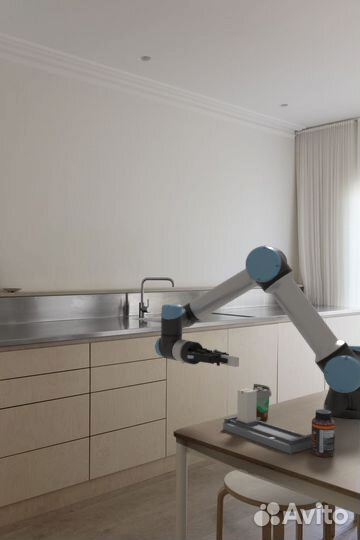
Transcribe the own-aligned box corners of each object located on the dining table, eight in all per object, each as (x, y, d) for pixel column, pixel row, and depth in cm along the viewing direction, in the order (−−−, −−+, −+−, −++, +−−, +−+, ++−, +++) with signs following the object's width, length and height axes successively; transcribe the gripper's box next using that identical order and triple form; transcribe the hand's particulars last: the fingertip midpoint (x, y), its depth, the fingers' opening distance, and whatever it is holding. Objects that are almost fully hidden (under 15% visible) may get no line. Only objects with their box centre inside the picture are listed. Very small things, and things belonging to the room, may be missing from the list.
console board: (246, 423, 165) (246, 413, 165) (314, 446, 144) (314, 434, 144) (222, 429, 159) (223, 418, 159) (290, 453, 138) (290, 441, 138)
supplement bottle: (308, 450, 141) (308, 408, 141) (329, 449, 142) (330, 407, 142) (315, 458, 135) (315, 414, 135) (338, 457, 136) (338, 414, 136)
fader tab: (246, 420, 161) (247, 387, 161) (258, 424, 157) (259, 390, 157) (234, 422, 158) (235, 389, 158) (246, 427, 154) (247, 392, 154)
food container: (270, 425, 164) (271, 392, 164) (250, 423, 165) (251, 391, 165) (271, 414, 176) (272, 384, 176) (253, 413, 177) (253, 383, 177)
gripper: (202, 361, 184) (251, 372, 165) (173, 364, 176) (221, 376, 157) (203, 339, 184) (252, 348, 165) (173, 342, 176) (221, 351, 157)
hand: (237, 362), depth 161 cm, fingers closed
